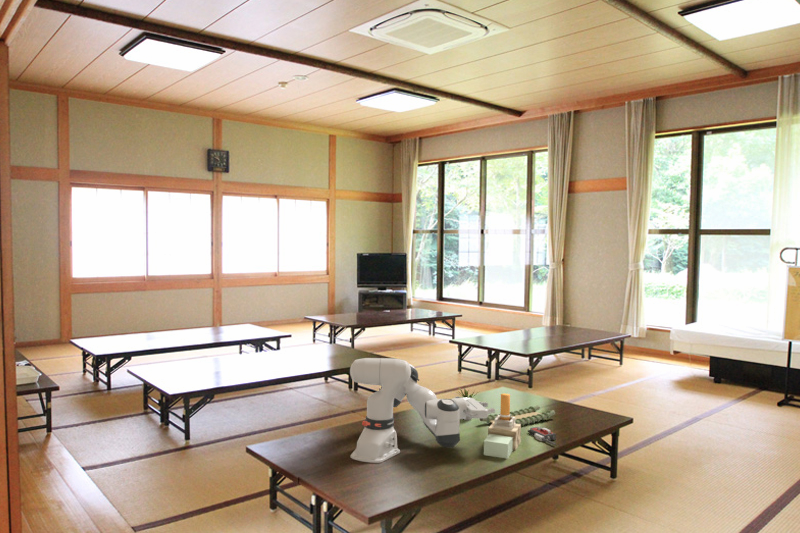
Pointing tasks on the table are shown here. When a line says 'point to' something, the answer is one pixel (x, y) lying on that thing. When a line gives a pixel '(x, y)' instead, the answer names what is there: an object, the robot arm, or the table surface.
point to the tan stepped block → (506, 429)
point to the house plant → (466, 397)
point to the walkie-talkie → (543, 434)
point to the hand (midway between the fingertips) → (490, 407)
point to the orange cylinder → (505, 407)
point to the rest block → (498, 446)
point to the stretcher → (524, 416)
